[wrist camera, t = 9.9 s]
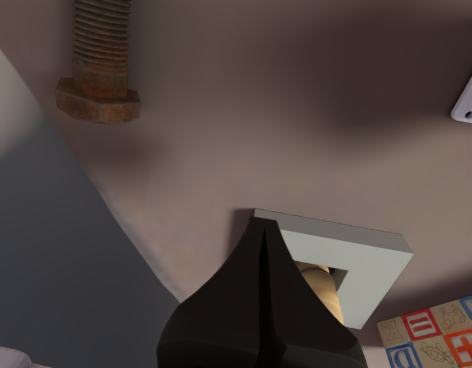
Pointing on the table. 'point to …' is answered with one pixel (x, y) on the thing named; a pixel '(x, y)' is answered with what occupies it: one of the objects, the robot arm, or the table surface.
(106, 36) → the bolt
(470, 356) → the stack of blocks
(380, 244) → the board
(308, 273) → the peg
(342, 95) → the table surface
